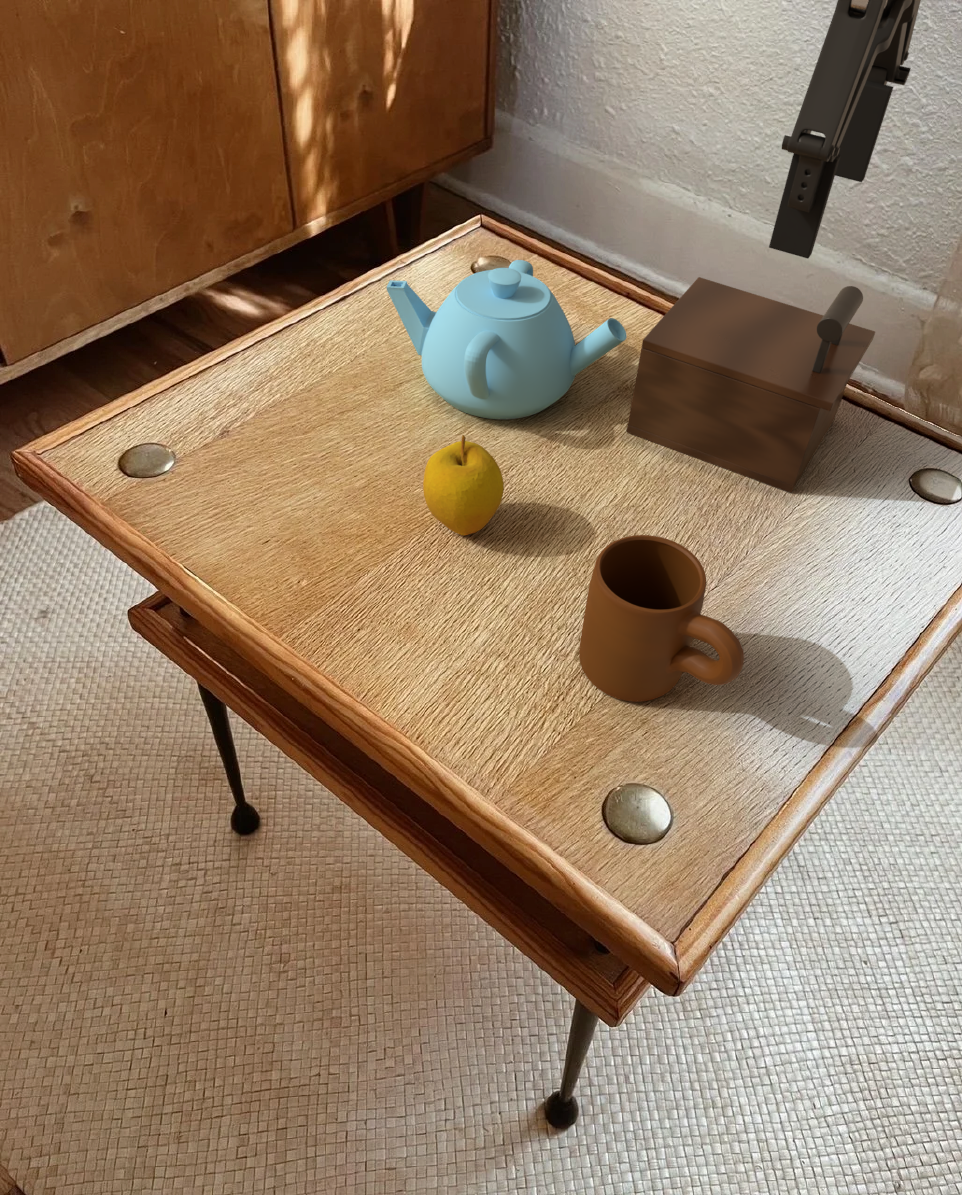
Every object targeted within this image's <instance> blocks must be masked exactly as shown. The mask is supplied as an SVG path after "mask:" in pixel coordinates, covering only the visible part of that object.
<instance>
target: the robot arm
mask: <svg viewBox="0 0 962 1195" xmlns="http://www.w3.org/2000/svg"><path fill="white" fill-rule="evenodd" d="M921 1H922V0H837V1H836V5H835V9H834V12H833V15H832V18H831V20H830V24H829V27H828V29H827V33H826V35H825V38H824V41H823V44H822V47H821V50H820V52H819V56H818V57H817V61H816V64H815V66H814V70H813V73H812V76H811V77H810V78H811V79H810V81H809V84H808V87H807V90H806V93H805V95H804V98H803V101H802V104H801V107H800V110H799V113H798V115H797V119H796V121H795V124H794V128H793V130H792V133H791V135H786V134H784V136H783V139H782V143H781V150H783V151H786V152H787V153H791V154H792V158H791V161H790V165H789V169H788V172H787V177H786V181H785V184H784V188H783V192H782V196H781V199H780V203H779V208H778V210H777V215H776V219H775V222H774V226H773V230H772V234H771V237H770V241H769V245H768V248H769V249H771V250H772V249H773V250H775V251H779V252H782V253H786V254H790V255H793V256H797V257H801V258H804V259H808V260H809V259H810V258H811V256H812V254H813V251H814V246H815V244H816V240H817V237H818V234H819V230H820V227H821V224H822V220H823V217H824V214H825V210H826V206H827V203H828V200H829V197H830V194H831V191H832V187H833V183H834V180H835V177H839V178H842V179H843V178H844V179H847V180H851V181H855V182H858V183H863V181H864V180H865V178H866V176H867V171H868V168H869V165H870V162H871V159H872V157H873V156H872V155H873V153H874V149H875V146H876V143H877V140H878V136H879V134H880V130H881V127H882V125H883V122H884V118H885V115H886V112H887V108H888V106H889V103H890V98H891V96H892V93H893V90H894V86H892V85H888V83H891V84H896V85H901V86H905V85H906V83H907V81H908V78H909V75H910V72H911V69H912V68H911V67H908V66H903V65H904V63H905V62H906V61H907V60H908V58H909V54H910V52H909V49H910V45H911V41H912V37H913V35H914V34H913V33H914V31H915V30H914V29H915V25H916V22H917V18H918V13H919V10H920V6H921ZM812 132H815V133H819V134H823V136H821V135H817V134H814V133H812Z"/></svg>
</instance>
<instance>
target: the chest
mask: <svg viewBox="0 0 962 1195" xmlns="http://www.w3.org/2000/svg"><path fill="white" fill-rule="evenodd" d="M848 382H849V381H848ZM848 382H847V384H846V386H845V387H844V389H843V391H842V393H841V394H840V396H839V398H838V399H837V401H836V403H835V404H834V406H833V408H832V410H831V411H828V410H825V409H822V408H819V407H816V406H813V405H810V404H807V403H804V402H801V401H798V400H795V399H792V398H789V397H786V396H783V395H780V394H778V393H775V392H772V391H769V390H766V389H763V388H760V387H757V386H754V385H751V384H748V383H745V382H742V381H739V380H736V379H733V378H730V377H727V376H724V375H722V374H719V373H716V372H713V371H710V370H707V369H704V368H701V367H698V366H695V365H692V364H689V363H686V362H683V361H680V360H677V359H674V358H671V357H669V356H666V355H663V354H660V353H657V352H654V351H651V350H648V349H645V348H642V347H641V348H640V353H639V358H638V364H637V370H636V375H635V380H634V387H633V392H632V398H631V404H630V410H629V415H628V421H627V426H626V432H625V433H627V434H631V435H632V436H633V435H634V436H636V437H638V438H641V439H644V440H646V441H649V442H651V443H653V444H658V445H661V446H663V447H665V448H668V449H671V450H673V451H676V452H678V453H681V454H684V455H687V456H690V457H692V458H695V459H698V460H700V461H703V462H706V463H709V464H712V465H714V466H716V467H719V468H721V469H725V470H728V471H730V472H733V473H736V474H738V475H741V476H744V477H746V478H749V479H752V480H753V481H754V480H755V481H757V482H760V483H763V484H765V485H768V486H771V487H773V488H775V489H779V490H782V491H783V492H787V493H790V494H793V492H794V490H795V488H796V487H797V485H798V483H799V482H800V480H801V478H802V476H803V474H805V471H806V469H807V468H808V466H809V464H810V462H811V461H812V459H813V457H814V455H815V453H816V452H817V450H818V448H819V447H820V445H821V443H822V442H823V440H824V438H825V437H826V435H827V433H828V431H829V429H830V428H831V427H832V425H833V423H834V421H835V419H836V417H837V413H838V410H839V408H840V405H841V402H842V399H843V397H844V394H845V391H846V388H847V386H848Z"/></svg>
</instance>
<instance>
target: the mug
mask: <svg viewBox="0 0 962 1195" xmlns="http://www.w3.org/2000/svg"><path fill="white" fill-rule="evenodd" d="M706 588H707V574H706V572H705V569H704V567H703V564H702V563H701V561H700V560H699V559H698V557H697V556H696V555H695V554H694V553H693V552H692V551H691V550H689V549H688V548H687V547H685V546H684V545H682V544H680V543H678V542H676V541H674V540H671V539H668V538H665V537H661V536H657V535H651V534H650V535H649V534H634V535H629V536H624V537H621V538H618V539H615V540H614V541H612V542H610V543H609V544H608V545H606V546H605V547H604V548H603V549H602V550H601V551H600V552H599V554H598V556H597V558H596V560H595V563H594V567H593V570H592V573H591V577H590V580H589V586H588V591H587V596H586V602H585V607H584V608H585V609H584V614H583V622H582V628H581V634H580V641H579V649H578V655H579V656H578V658H579V663H580V667H581V670H582V672H583V673H584V675H585V677H586V678H587V679H588V680H589V682H590V683H591V684H592V685H593V686H594V687H595V688H597V689H598V690H599V691H600V692H602V693H603V694H605V695H608V696H610V697H612V698H615V699H618V700H621V701H626V702H638V703H639V702H647V701H652V700H656V699H658V698H660V697H662V696H664V695H666V694H668V693H669V692H670V691H671V690H673V689H674V688H675V687H676V686H677V684H678V683H679V681H680V679H681V677H682V675H683V673H686V674H687V673H688V675H691V676H692V677H694V678H695V679H697V680H699V681H700V682H702V683H705V684H706V685H707V684H709V685H713V686H723V685H726V684H729V683H732V682H733V681H735V680H736V679H737V678H738V677H739V676H740V674H741V672H742V671H743V667H744V664H745V653H744V648H743V646H742V643H741V641H740V639H739V638H738V637H737V636H736V634H735V633H734V632H733V630H731V629H730V627H728V626H727V625H726V624H725V623H723V622H722V621H720V620H718V619H715V618H713V617H709V616H708V615H707V616H706V615H704V614H702V611H703V606H704V600H705V595H706V594H705V593H706ZM694 639H695V640H697V641H700V642H702V643H706V644H708V645H709V646H711V648H713V649H714V650H715V652H716V653H717V654H718V658H719V659H718V660H717V659H715V658H713V657H711V656H710V655H708V654H707V653H706V652H704V651H702V650H701V649H699V648H697V647H694V646H692V644H693V642H694Z"/></svg>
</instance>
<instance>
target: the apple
mask: <svg viewBox="0 0 962 1195" xmlns="http://www.w3.org/2000/svg"><path fill="white" fill-rule="evenodd" d="M466 438H467V437H466V436H465V435H464V434H462V436H461V440H459V441H455V442H453V443H451V444H449V445H447V446H445V447H443V448H441V449H439V450H437V451H436V452H434V453H433V454H432V455H431V456H430V457H429V459H428V461H427V463H426V465H425V468H424V474H423V482H422V486H423V487H422V490H423V497H424V501H425V503H426V506H427V508H428V511H429V512H430V514H432V516H433V517H434V518H435V519H436V520H437V521H438V522H439V523H441V524H442V525H444V526H445V527H446V529H449V530H450V531H451V532H453V533H455V534H458V535H459V536H467V535H471V534H476V533H477V532H479V531H481V530H483V529H484V528H485V526H487V525H488V523H489V522H490V521H491V519H492V518H493V517H494V515H495V514H496V513H497V511H498V509H499V507H500V505H501V503H502V501H503V500H502V499H503V497H504V490H505V483H504V477H503V474H502V471H501V468H500V466H499V464H498V462H497V461H496V459H495V458H494V457H493V455H492V454H491V453H490V452H488V450H487V449H486V448H484V447H483V446H482V445H480V444H478V443H476V442H475V441H469V440H466Z"/></svg>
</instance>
